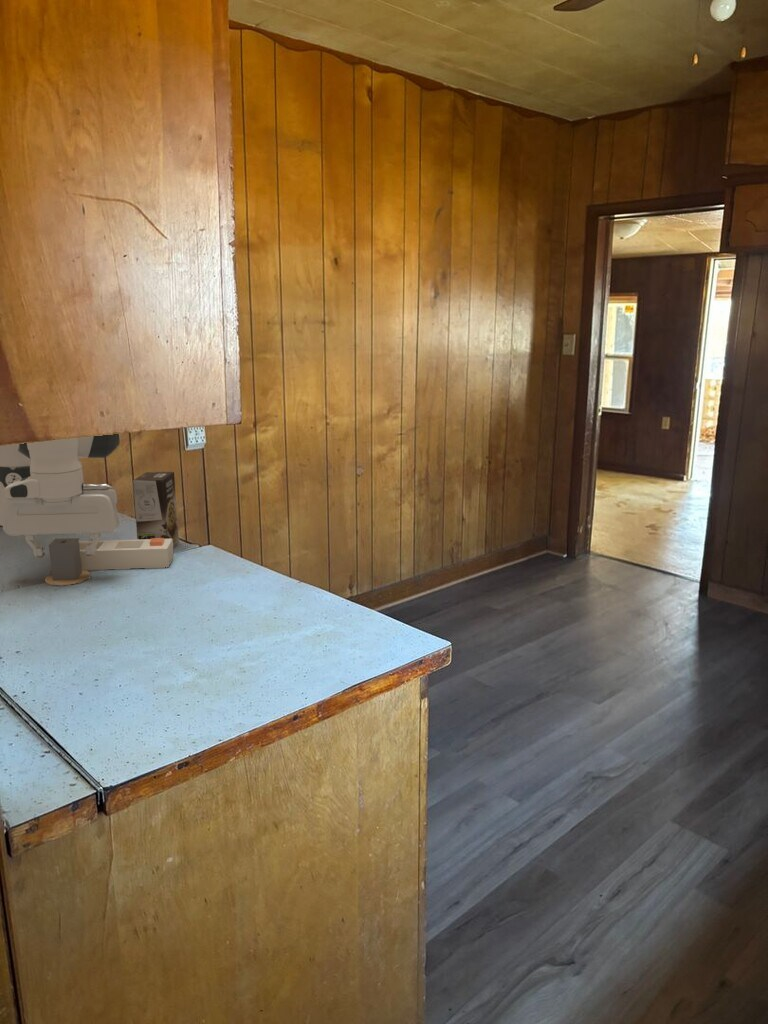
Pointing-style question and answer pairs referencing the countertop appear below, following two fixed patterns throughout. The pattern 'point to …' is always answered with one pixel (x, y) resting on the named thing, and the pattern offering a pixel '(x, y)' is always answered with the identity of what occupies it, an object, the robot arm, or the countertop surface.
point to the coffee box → (156, 506)
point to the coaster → (82, 577)
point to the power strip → (128, 554)
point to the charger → (65, 559)
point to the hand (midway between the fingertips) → (65, 555)
